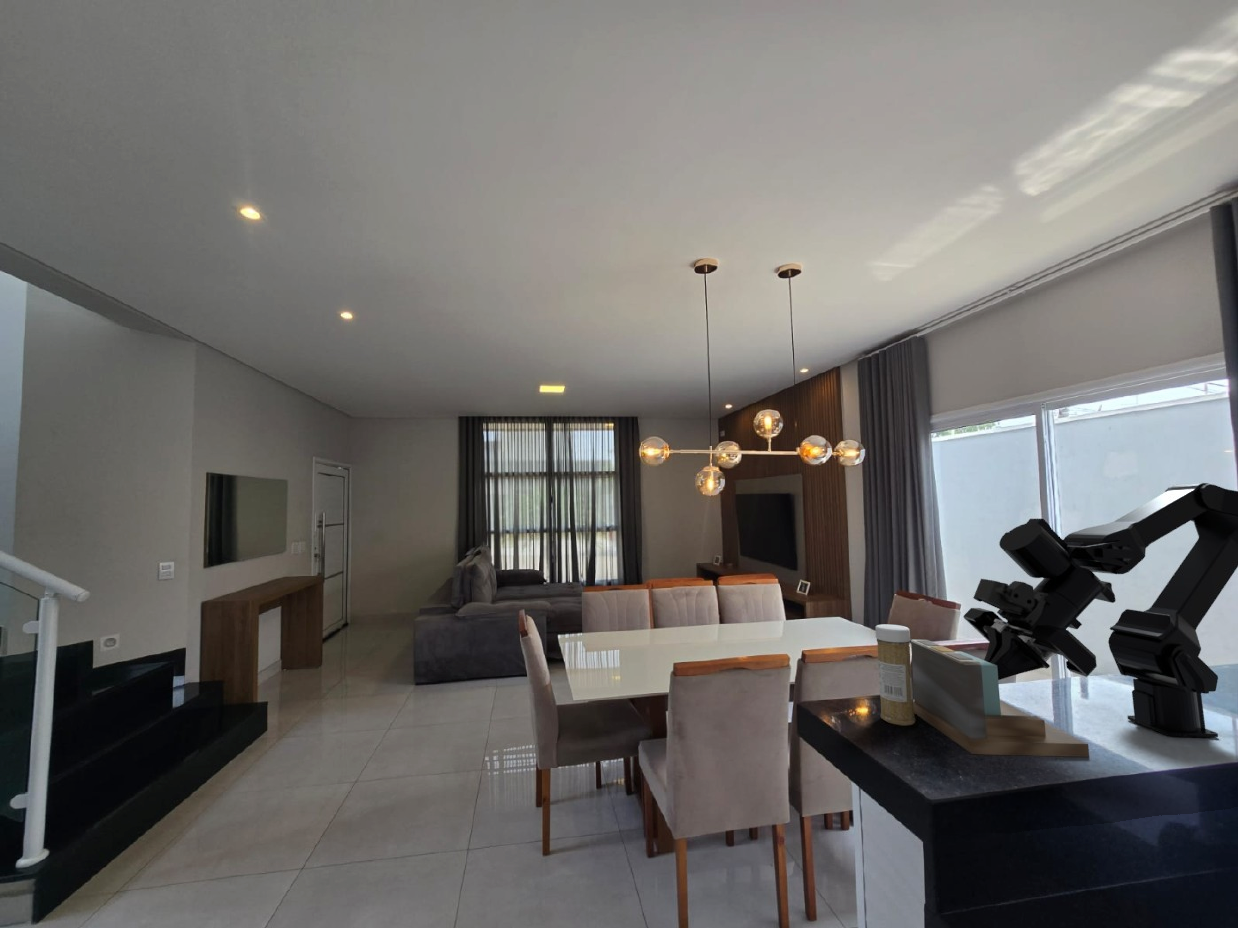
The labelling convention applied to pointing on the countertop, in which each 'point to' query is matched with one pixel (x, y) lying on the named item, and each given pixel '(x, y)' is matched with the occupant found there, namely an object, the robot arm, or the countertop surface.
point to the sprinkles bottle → (895, 674)
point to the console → (978, 709)
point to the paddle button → (989, 686)
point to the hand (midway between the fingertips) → (982, 680)
